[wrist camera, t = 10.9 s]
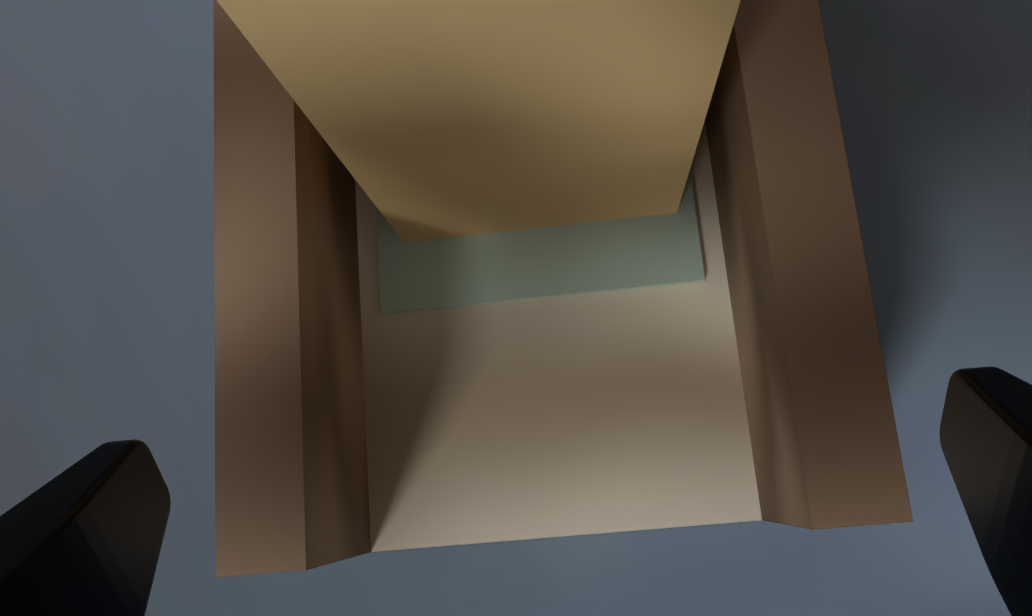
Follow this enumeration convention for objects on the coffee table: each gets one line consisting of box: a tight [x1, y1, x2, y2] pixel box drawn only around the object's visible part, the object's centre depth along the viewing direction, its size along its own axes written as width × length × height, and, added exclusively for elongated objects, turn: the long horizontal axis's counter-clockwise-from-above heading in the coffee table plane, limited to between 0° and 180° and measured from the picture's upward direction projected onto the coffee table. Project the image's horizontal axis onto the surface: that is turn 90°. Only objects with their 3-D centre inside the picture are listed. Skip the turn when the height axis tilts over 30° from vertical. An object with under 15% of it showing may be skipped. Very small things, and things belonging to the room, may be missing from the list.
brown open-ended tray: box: [214, 0, 913, 577], centre depth 17 cm, size 18×13×5 cm
